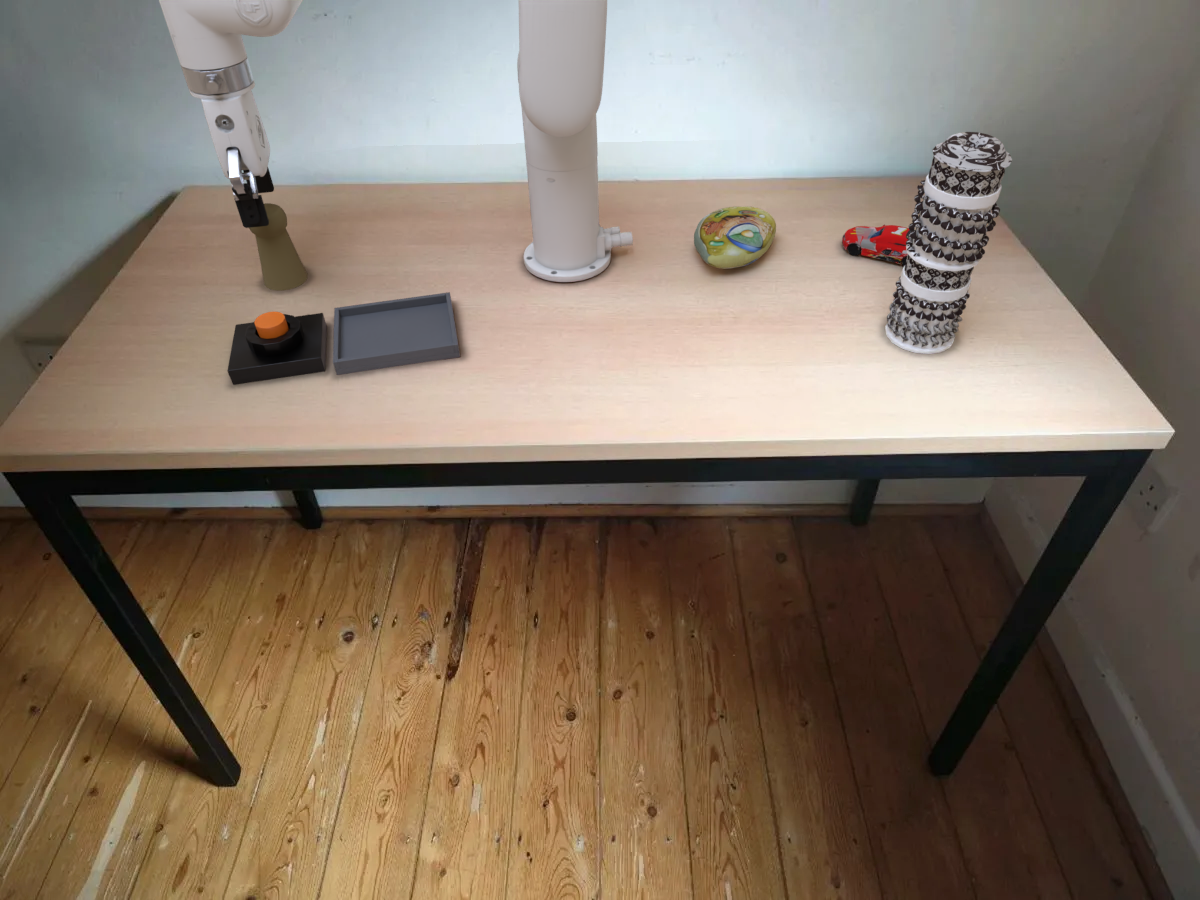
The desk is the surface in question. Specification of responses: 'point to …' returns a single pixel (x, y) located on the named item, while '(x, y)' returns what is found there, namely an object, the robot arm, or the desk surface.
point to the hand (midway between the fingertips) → (259, 208)
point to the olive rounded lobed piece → (278, 252)
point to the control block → (279, 350)
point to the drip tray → (394, 333)
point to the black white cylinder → (946, 241)
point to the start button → (271, 325)
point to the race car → (878, 242)
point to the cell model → (734, 236)
